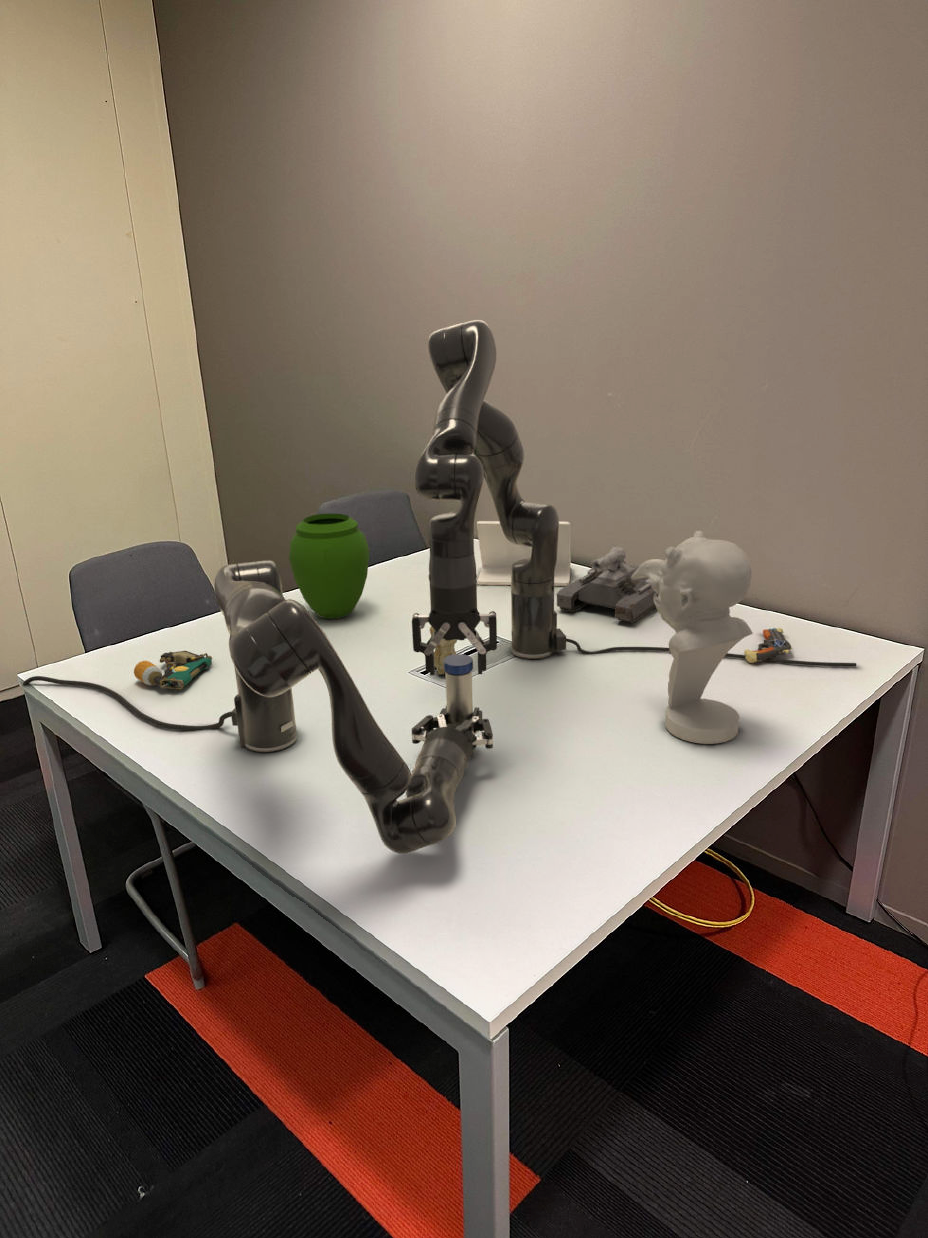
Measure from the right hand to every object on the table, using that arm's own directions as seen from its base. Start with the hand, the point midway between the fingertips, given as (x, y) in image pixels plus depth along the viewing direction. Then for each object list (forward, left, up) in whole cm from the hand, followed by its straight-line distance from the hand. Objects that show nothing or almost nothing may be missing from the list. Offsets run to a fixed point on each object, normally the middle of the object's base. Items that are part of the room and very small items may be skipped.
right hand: (456, 673), depth 142 cm
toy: (-53, -63, -15) cm, 83 cm away
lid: (0, 0, +2) cm, 2 cm away
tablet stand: (-37, -93, -15) cm, 101 cm away
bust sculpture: (-41, -1, -15) cm, 44 cm away
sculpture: (-4, -34, -15) cm, 38 cm away
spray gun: (+52, -46, -15) cm, 71 cm away
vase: (+17, -76, -15) cm, 79 cm away
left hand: (-1, -2, -8) cm, 9 cm away
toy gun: (-73, -28, -15) cm, 80 cm away
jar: (0, 0, -15) cm, 15 cm away
